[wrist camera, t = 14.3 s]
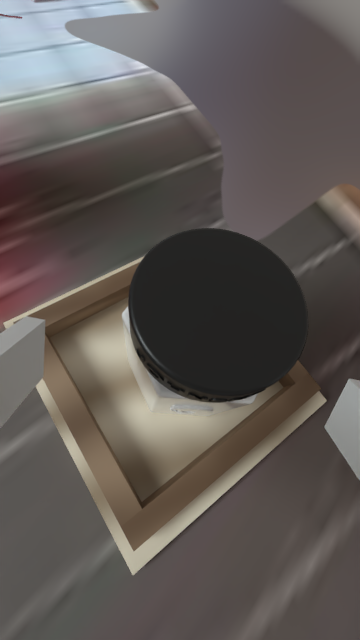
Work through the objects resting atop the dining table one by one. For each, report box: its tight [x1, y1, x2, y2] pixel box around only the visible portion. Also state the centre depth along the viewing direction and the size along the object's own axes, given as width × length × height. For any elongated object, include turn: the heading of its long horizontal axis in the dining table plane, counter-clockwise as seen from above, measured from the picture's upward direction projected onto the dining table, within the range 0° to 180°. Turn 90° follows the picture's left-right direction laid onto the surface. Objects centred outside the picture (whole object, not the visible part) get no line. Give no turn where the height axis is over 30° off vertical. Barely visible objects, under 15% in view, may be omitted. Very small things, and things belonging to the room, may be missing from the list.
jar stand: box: [3, 257, 327, 575], centre depth 22 cm, size 20×19×3 cm
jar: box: [122, 228, 308, 416], centre depth 17 cm, size 9×8×12 cm
